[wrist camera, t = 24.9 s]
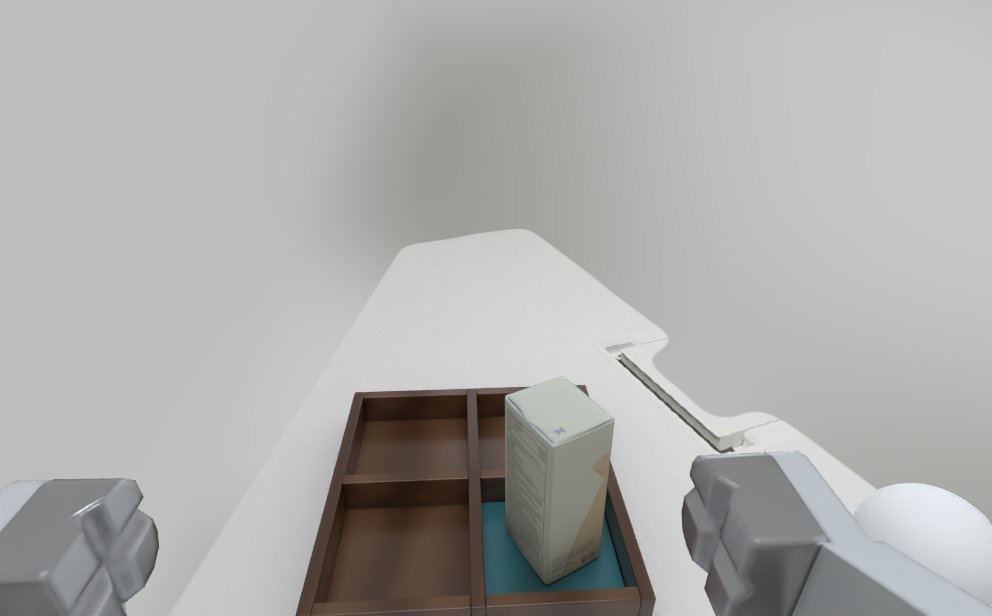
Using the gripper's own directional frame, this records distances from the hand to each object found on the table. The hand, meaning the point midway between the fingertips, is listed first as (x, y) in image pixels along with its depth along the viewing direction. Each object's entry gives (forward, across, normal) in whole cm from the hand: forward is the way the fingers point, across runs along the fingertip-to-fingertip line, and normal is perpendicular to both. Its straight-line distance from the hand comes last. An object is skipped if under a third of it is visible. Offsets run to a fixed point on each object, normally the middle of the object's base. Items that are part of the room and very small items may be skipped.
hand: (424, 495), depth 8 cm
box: (+18, -6, +24) cm, 31 cm away
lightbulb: (+11, -23, +25) cm, 36 cm away
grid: (+22, -1, +25) cm, 33 cm away
